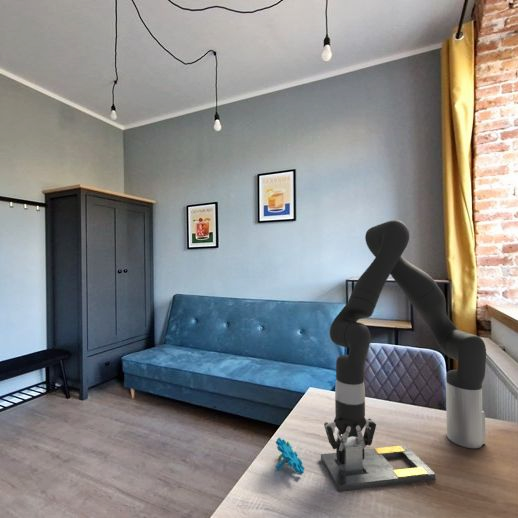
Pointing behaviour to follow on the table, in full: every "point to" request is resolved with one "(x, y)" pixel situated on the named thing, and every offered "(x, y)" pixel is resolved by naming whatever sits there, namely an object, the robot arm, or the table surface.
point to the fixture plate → (378, 469)
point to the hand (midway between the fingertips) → (350, 461)
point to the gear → (288, 456)
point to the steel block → (352, 458)
